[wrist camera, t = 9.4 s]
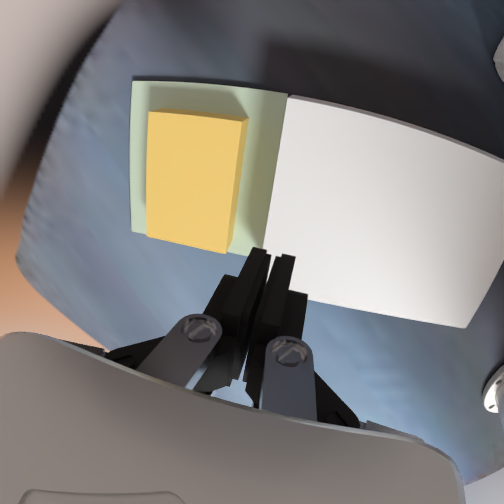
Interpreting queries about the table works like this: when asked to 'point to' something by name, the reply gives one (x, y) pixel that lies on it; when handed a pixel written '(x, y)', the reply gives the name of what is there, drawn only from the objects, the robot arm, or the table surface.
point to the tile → (193, 176)
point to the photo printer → (500, 59)
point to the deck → (385, 214)
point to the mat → (255, 153)
